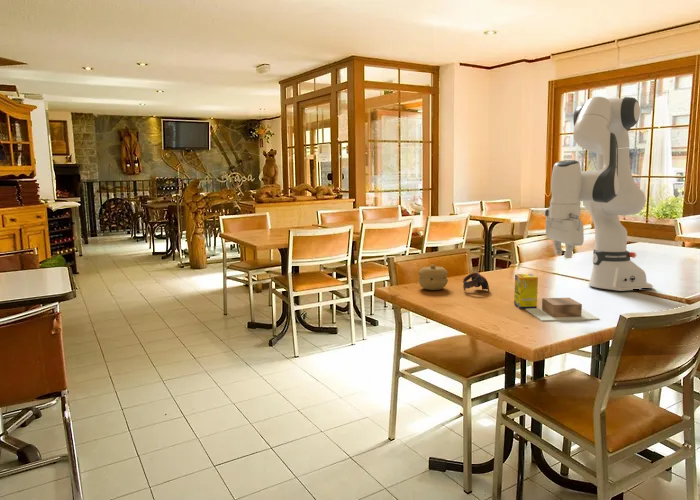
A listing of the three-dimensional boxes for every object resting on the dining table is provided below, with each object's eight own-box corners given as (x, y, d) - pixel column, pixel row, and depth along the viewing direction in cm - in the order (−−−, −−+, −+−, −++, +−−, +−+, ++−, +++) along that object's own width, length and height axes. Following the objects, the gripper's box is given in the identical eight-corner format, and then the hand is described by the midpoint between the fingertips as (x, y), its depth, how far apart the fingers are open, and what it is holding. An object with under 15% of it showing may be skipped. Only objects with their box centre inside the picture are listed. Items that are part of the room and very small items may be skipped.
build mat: (578, 308, 177) (578, 307, 177) (599, 319, 163) (599, 318, 163) (525, 309, 176) (525, 308, 176) (541, 321, 162) (541, 320, 162)
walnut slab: (568, 309, 174) (569, 297, 173) (581, 316, 165) (581, 304, 165) (541, 310, 174) (542, 298, 173) (552, 317, 165) (553, 305, 164)
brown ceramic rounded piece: (492, 294, 199) (483, 276, 197) (469, 304, 202) (460, 286, 200) (489, 281, 210) (480, 264, 208) (467, 291, 213) (458, 274, 211)
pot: (453, 291, 206) (453, 265, 205) (425, 293, 203) (425, 268, 202) (439, 285, 218) (439, 261, 216) (413, 287, 214) (413, 263, 213)
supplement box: (513, 304, 183) (514, 274, 182) (530, 304, 183) (531, 273, 182) (519, 309, 177) (520, 277, 176) (537, 308, 177) (538, 276, 176)
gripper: (590, 215, 155) (588, 261, 157) (561, 210, 175) (559, 251, 177) (569, 215, 154) (567, 261, 156) (542, 210, 175) (541, 251, 177)
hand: (563, 256), depth 167 cm, fingers open, 6 cm apart
